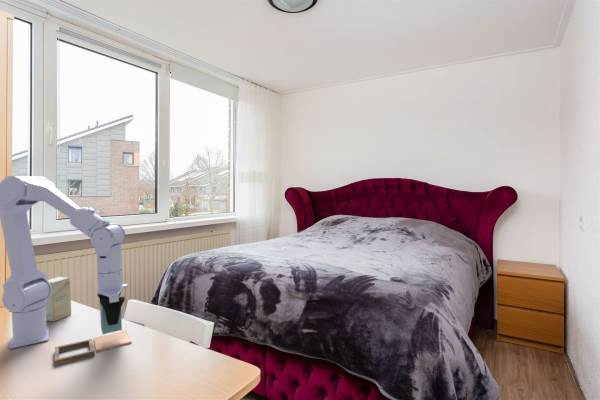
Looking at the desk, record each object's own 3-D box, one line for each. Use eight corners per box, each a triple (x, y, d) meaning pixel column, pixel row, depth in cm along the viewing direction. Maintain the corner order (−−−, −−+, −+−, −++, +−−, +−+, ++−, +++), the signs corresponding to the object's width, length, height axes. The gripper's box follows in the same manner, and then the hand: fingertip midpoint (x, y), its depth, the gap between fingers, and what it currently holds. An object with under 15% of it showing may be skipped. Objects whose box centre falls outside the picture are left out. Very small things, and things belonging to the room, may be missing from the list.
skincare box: (54, 322, 104) (52, 282, 104) (42, 321, 105) (40, 281, 104) (72, 314, 111) (70, 276, 110) (60, 313, 111) (58, 276, 111)
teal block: (101, 328, 92) (99, 302, 92) (119, 324, 95) (118, 299, 94) (102, 334, 88) (101, 307, 88) (121, 329, 91) (120, 303, 91)
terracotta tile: (93, 339, 93) (93, 337, 93) (126, 332, 97) (126, 330, 97) (96, 351, 86) (96, 349, 86) (131, 343, 91) (131, 341, 91)
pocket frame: (55, 351, 86) (54, 347, 86) (92, 343, 91) (92, 338, 91) (54, 366, 80) (54, 361, 80) (94, 355, 84) (94, 351, 84)
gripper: (131, 274, 87) (133, 326, 88) (122, 263, 99) (124, 309, 100) (99, 279, 83) (101, 334, 84) (94, 266, 95) (96, 315, 96)
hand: (111, 321), depth 92 cm, fingers closed on teal block, 4 cm apart
